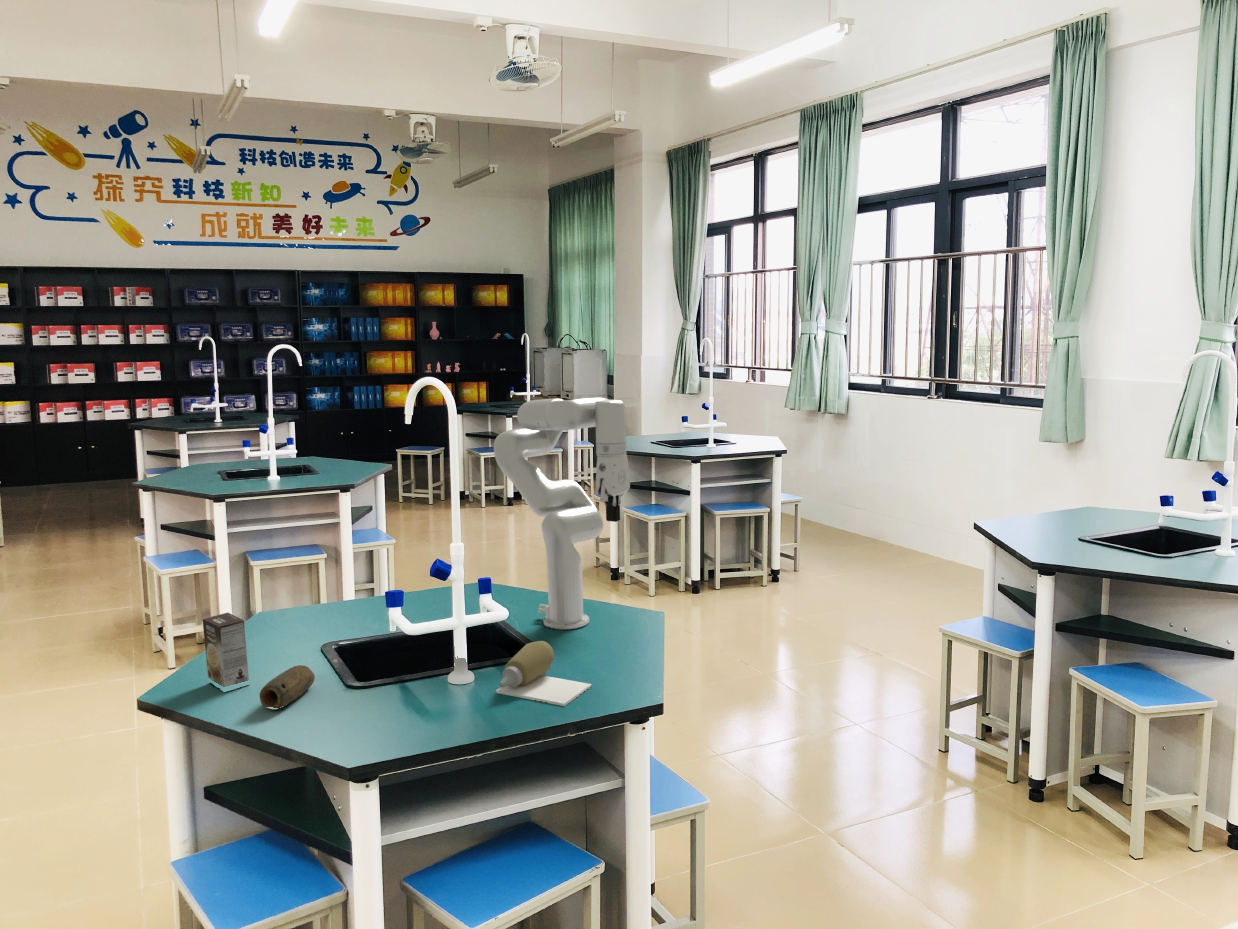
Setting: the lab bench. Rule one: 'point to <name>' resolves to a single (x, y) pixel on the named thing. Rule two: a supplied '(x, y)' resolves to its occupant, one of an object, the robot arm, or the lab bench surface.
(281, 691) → the brown hollow cylinder
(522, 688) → the mat
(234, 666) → the coffee box
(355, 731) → the lab bench surface
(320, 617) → the lab bench surface
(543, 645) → the squeeze bottle
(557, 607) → the robot arm
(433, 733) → the lab bench surface
